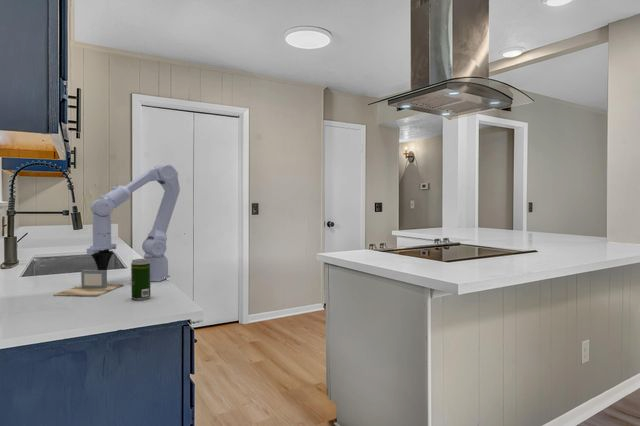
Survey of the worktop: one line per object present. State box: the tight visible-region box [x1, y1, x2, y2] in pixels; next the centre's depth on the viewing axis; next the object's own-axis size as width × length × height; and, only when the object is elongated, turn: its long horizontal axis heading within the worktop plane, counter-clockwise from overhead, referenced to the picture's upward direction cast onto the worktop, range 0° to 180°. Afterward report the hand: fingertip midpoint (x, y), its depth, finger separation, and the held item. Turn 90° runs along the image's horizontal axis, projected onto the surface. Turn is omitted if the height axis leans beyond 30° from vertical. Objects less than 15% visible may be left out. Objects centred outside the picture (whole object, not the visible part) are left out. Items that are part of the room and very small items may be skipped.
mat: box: [52, 283, 124, 298], centre depth 135 cm, size 16×14×1 cm
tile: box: [80, 269, 108, 289], centre depth 137 cm, size 2×8×6 cm, turn 87°
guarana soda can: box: [130, 258, 151, 301], centre depth 125 cm, size 5×5×12 cm
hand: (102, 272), depth 142 cm, fingers closed
